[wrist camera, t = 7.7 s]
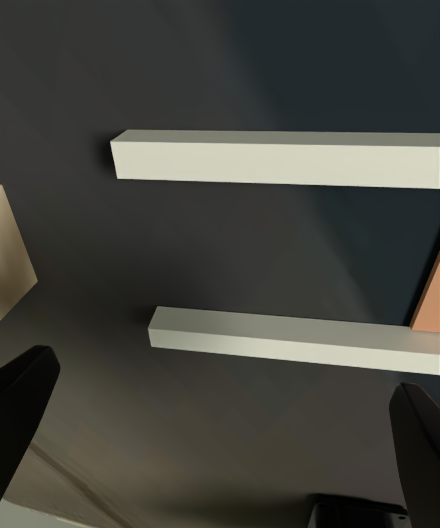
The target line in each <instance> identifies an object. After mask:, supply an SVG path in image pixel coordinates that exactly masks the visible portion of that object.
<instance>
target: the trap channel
mask: <svg viewBox="0 0 440 528" xmlns="http://www.w3.org/2000/svg"><path fill="white" fill-rule="evenodd" d="M110 143H111V148H112V153H113V158H114V163H115V168H116V173H117V178H118V179H150V180H182V181H214V182H246V183H277V184H309V185H341V186H373V187H405V188H437V189H440V133H363V132H277V131H191V130H126V131H125V132H123V133H122V134H121V135H119V136H118V137H116V138H115V139H113V140H112V141H110ZM148 332H149V337H150V342H151V347H160V348H170V349H180V350H191V351H201V352H211V353H221V354H231V355H242V356H252V357H262V358H272V359H282V360H293V361H303V362H313V363H323V364H334V365H344V366H354V367H364V368H374V369H385V370H395V371H405V372H415V373H425V374H436V375H440V251H439V254H438V256H437V258H436V261H435V263H434V266H433V268H432V271H431V273H430V276H429V278H428V281H427V283H426V285H425V288H424V290H423V293H422V295H421V298H420V300H419V303H418V305H417V308H416V310H415V312H414V315H413V317H412V320H411V322H410V327H406V326H394V325H381V324H369V323H357V322H345V321H332V320H320V319H308V318H296V317H283V316H271V315H259V314H246V313H234V312H222V311H210V310H197V309H185V308H173V307H161V306H157V308H156V311H155V313H154V315H153V318H152V320H151V322H150V324H149V327H148Z"/></svg>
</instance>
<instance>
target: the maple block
mask: <svg viewBox="0 0 440 528" xmlns="http://www.w3.org/2000/svg"><path fill="white" fill-rule="evenodd" d="M37 282H38V280H37V278H36V275H35V272H34V270H33V267H32V264H31V262H30V259H29V256H28V254H27V251H26V248H25V245H24V243H23V240H22V237H21V235H20V232H19V229H18V227H17V224H16V221H15V219H14V216H13V213H12V210H11V208H10V205H9V202H8V200H7V197H6V194H5V192H4V189H3V186H2V185H0V321H1V319H2V318H3V317H4V316H5V315H6V314H7V313H8V312H9V311H10V310H11V309H12V308H13V307H14V306H15V305H16V304H17V303H18V302H19V301H20V299H21V298H22V297H23V296H24V295H25V294H26V293H27V292H28V291H29V290H30V289H31V288H32V287H33V286H34V285H35V284H36V283H37Z"/></svg>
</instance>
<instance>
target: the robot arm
mask: <svg viewBox="0 0 440 528" xmlns="http://www.w3.org/2000/svg"><path fill="white" fill-rule="evenodd" d="M59 373H60V364H59V362H58V359H57V357H56V355H55V353H54V350H53V349H52V348H51V347H50V346H43V345H36V346H33V347H32V348H30V349H29V350H27V351H25V352H24V353H22V354H21V355H19V356H18V357H16V358H15V359H13V360H12V361H10V362H9V363H7V364H6V365H4V366H3V367H1V368H0V501H1V499H2V497H3V495H4V493H5V491H6V489H7V487H8V485H9V483H10V481H11V479H12V477H13V475H14V473H15V471H16V470H17V468H18V466H19V464H20V462H21V460H22V458H23V456H24V454H25V452H26V450H27V448H28V446H29V444H30V442H31V440H32V438H33V436H34V434H35V432H36V430H37V428H38V426H39V424H40V421H41V419H42V416H43V414H44V411H45V409H46V406H47V404H48V401H49V399H50V396H51V394H52V391H53V389H54V386H55V384H56V381H57V379H58V376H59ZM389 413H390V419H391V426H392V433H393V439H394V446H395V453H396V460H397V466H398V472H399V478H400V482H401V486H402V490H403V494H404V498H405V502H406V506H407V510H408V511H407V510H406V509H402V508H395V507H389V506H382V505H375V504H368V503H362V502H355V501H348V500H341V499H335V498H328V497H316V498H315V499H314V502H313V505H312V508H311V511H310V514H309V518H308V521H307V524H306V528H403V527H404V526H405V524H406V523H407V522H408V520H409V518H410V521H411V525H412V528H440V407H439V406H438V405H437V404H436V403H435V402H434V401H433V400H432V398H431V397H430V396H429V395H428V394H427V393H426V392H425V391H424V390H423V389H422V387H420V386H419V385H418V384H415V383H406V382H400V383H398V385H397V386H396V389H395V391H394V393H393V396H392V398H391V400H390V404H389ZM408 513H409V514H408Z"/></svg>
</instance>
